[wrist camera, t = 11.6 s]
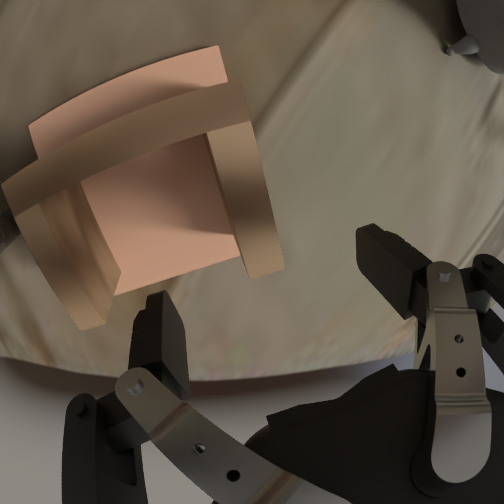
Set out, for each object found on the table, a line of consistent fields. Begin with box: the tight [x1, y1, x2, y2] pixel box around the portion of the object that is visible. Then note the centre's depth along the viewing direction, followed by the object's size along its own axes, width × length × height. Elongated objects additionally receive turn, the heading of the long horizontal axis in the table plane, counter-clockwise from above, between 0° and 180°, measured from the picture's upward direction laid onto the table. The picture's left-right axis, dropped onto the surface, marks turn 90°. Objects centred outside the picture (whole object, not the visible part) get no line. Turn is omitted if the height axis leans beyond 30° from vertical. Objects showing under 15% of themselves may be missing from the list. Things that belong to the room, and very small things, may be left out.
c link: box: [1, 79, 285, 331], centre depth 15 cm, size 10×13×6 cm
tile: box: [28, 45, 240, 296], centre depth 18 cm, size 15×14×1 cm
